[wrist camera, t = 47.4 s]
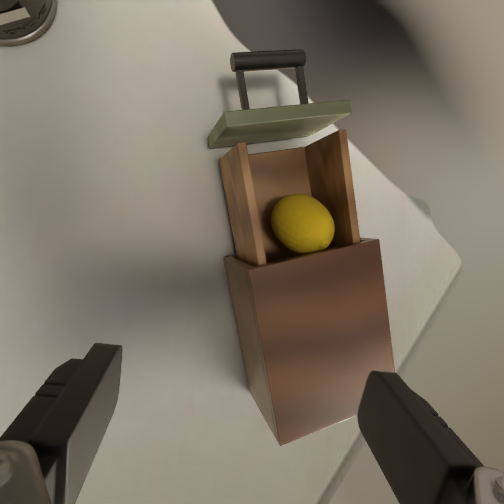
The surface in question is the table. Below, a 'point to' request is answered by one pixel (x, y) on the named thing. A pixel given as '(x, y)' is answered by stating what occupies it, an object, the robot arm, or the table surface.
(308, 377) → the cabinet
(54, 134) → the table surface
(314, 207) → the lemon
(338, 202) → the drawer
